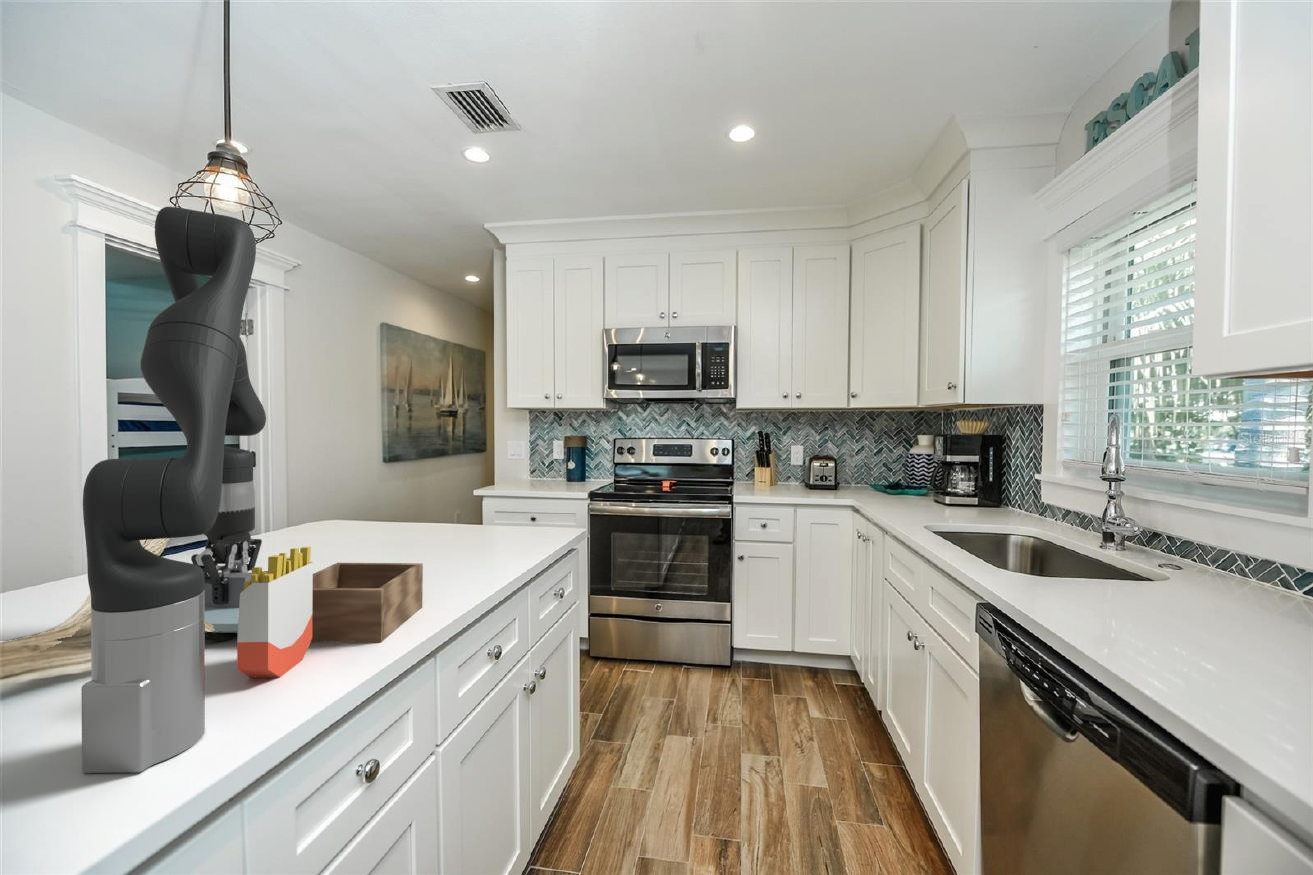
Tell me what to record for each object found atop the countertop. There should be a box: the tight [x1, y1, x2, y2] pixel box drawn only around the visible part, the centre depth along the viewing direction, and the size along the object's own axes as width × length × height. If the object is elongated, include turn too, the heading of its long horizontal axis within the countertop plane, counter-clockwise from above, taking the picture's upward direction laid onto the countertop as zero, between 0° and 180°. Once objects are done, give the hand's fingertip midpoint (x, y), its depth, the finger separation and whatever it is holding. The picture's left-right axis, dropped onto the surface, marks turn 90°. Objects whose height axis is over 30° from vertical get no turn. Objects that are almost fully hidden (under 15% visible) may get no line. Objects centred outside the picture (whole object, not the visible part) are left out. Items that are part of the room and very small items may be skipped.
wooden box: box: [310, 562, 424, 643], centre depth 96 cm, size 17×17×9 cm
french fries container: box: [236, 546, 314, 679], centre depth 78 cm, size 5×11×18 cm, turn 5°
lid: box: [204, 571, 252, 633], centre depth 94 cm, size 18×18×8 cm
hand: (229, 600), depth 94 cm, fingers closed on lid, 3 cm apart
